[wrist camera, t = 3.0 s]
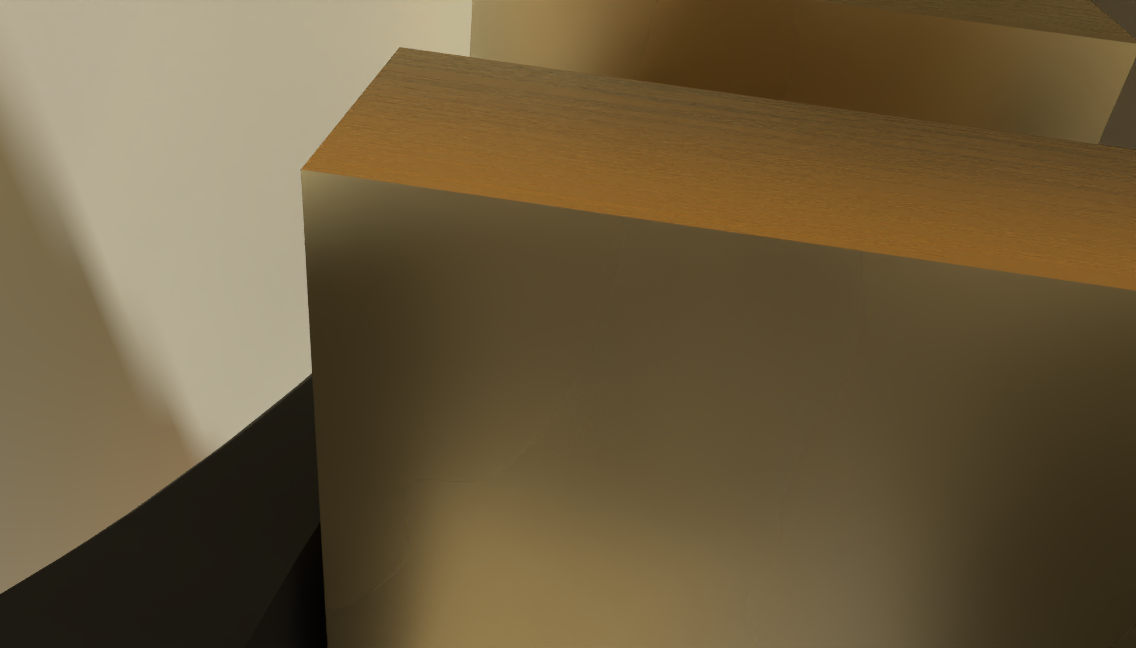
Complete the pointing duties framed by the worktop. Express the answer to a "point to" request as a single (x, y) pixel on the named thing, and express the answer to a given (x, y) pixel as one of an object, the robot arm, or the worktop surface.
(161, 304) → the worktop surface
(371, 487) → the clip nut
